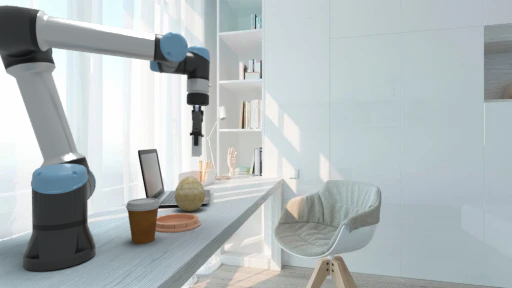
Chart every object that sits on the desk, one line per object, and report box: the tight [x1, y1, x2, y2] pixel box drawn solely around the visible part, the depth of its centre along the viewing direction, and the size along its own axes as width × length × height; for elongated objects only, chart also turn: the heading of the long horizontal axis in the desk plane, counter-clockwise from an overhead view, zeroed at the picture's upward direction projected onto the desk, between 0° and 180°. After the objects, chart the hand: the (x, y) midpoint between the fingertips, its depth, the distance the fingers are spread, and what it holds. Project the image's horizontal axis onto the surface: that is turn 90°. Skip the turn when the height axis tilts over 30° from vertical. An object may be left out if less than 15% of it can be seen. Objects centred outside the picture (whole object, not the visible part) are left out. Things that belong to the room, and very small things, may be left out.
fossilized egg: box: [174, 175, 206, 212], centre depth 127 cm, size 13×13×15 cm
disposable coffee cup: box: [125, 197, 161, 245], centre depth 89 cm, size 10×10×12 cm
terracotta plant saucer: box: [155, 212, 201, 234], centre depth 105 cm, size 17×17×2 cm
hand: (197, 155), depth 101 cm, fingers open, 13 cm apart
